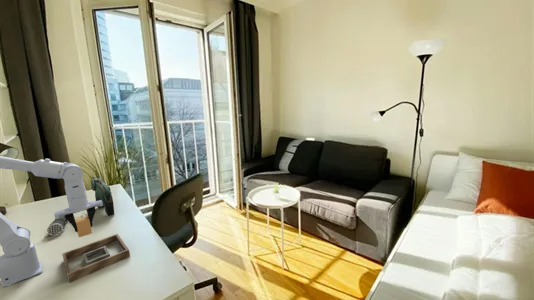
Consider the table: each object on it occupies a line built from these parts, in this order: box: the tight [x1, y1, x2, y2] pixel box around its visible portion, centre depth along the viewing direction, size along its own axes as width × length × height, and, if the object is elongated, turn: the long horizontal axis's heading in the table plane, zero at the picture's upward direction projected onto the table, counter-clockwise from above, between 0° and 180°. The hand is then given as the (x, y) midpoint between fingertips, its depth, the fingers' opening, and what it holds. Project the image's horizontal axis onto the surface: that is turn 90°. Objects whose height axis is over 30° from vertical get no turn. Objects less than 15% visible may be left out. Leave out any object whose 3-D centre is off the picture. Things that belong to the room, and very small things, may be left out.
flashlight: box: [46, 216, 68, 236], centre depth 115 cm, size 15×5×5 cm, turn 29°
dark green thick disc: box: [90, 174, 115, 217], centre depth 129 cm, size 20×6×20 cm, turn 48°
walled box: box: [62, 233, 131, 283], centre depth 91 cm, size 18×16×3 cm
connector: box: [75, 215, 93, 238], centre depth 94 cm, size 4×4×6 cm
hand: (83, 228), depth 94 cm, fingers closed on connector, 4 cm apart
